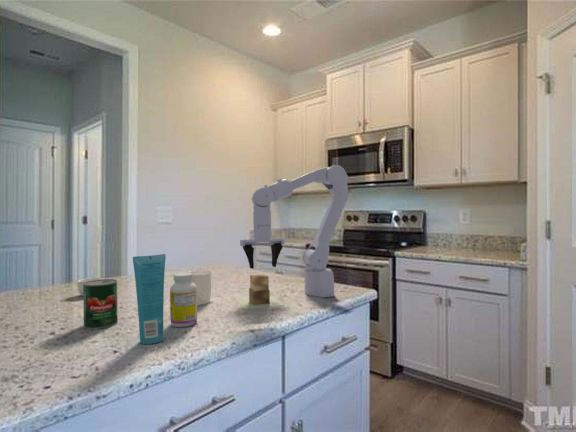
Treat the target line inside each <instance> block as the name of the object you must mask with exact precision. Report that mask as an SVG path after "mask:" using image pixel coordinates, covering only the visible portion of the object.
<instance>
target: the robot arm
mask: <svg viewBox="0 0 576 432" xmlns="http://www.w3.org/2000/svg"><path fill="white" fill-rule="evenodd" d="M348 179H349V176H348V174H347V171H346V170H345V169H344V167H343V166H341V165H339V164H334V165H331V166H328V167H323V168H322V167H321V168H319V169H315V170H312V171H310V172H308V173H306V174H303V175H302V176H299V177H296V178H294V179H292V180H288V179H286V178H284V179H282V178H279V179H277V180H276V182H273V183H270V184H269V185H268V184H265V185H264V186H263V187H261V188H259V189H256V190H255V191H253V193H252V196H251V201H252V204H253V214H252V217H253V219H252V220H253V221H252V222H253V238H250V239H249V238H248V239H240V240H239V244H240V245H239V246H241V247H242V249H243V251H244V253H245V255H246V258H247V261H248V265H249V269H254V266H255V265H254V263H255V262H254V253H255V248H254V247H253V246H270V250H271V266H272V267H273V268H276V267H277V263H278V259H279V256H280V255H281V252H282V250H283V248H284V247H283V245H285V238H284V237H278V238H277V237H275V238H274V237H272V212H271V204H272V202H273V203H275V202H278V201H280V200H282V199H285V198H287V197H290V196H292V194H293V191H294V190H298V189H299V188H301V187H304V186H307V185H309V184H313V183H316V184H322V185H323V186H324V187H325V188H326V189H327V190H328V192H329V194H330V196H331V198H330V201H329V203H328V205H327V208H326V210H325V213H324V214H323V218H322V220H321V222H320V225H319V227H318V230H317V232H316V235H315V237H314V239H313V240H312V242H311V243H310V245H309V246H308V248H307V249H306V250H305V251H304V252H303V254H302V260H303V262H304V264H305V267H304V294H305V295H308V296H317V297H320V298H331V297H335V296H336V294H335V275H334V272H333V270H332V269H331V268H327V265H328V263H329V254H330V243H331V241H332V238H333V237H334V236H333V235H334V232H336V231H335V230H336V228H337V226H338V224H339V221H340V218H341V216H342V214H343V211H344V209H345V205H346V204H347V200H348V199H349V187H348Z"/></svg>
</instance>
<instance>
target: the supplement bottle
mask: <svg viewBox="0 0 576 432" xmlns="http://www.w3.org/2000/svg"><path fill="white" fill-rule="evenodd" d="M192 278H193V274H192V273H187V272H179V273H174V274H173V281H174V283H173V284H172V285H170V288H169V303H170V304H169V306H170V307H169V308H170V309H169V311H170V325H171V326H172V327H176V328H188V327H191V326H194V325H196V324H197V322H198V305H197V286H196V284H194V283H192Z"/></svg>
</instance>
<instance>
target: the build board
mask: <svg viewBox="0 0 576 432" xmlns="http://www.w3.org/2000/svg"><path fill="white" fill-rule="evenodd" d="M235 301H236V302H237V303H238V304H239V305H240V306H241V307H242V308H243V309H244V310H253V309H262V308H268V307H269V308H270V307H272V308H273V307H280V306H285V304H284V303H282V302H281V301H280V300H278V299H277V298H275V297H274V296H271V295H270V303H269V304H259V305H253V304H252V303H251V302H250V301H249V298H241V299H235Z"/></svg>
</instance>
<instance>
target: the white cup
mask: <svg viewBox="0 0 576 432" xmlns="http://www.w3.org/2000/svg"><path fill="white" fill-rule="evenodd" d="M186 273H192V274H193V278H192V283H194V284H196V286H197V306H199V305H205V304H209V303H210V302H211V295H212V275H213V274H212V271H211V270H191V271H188V272H186Z"/></svg>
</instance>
